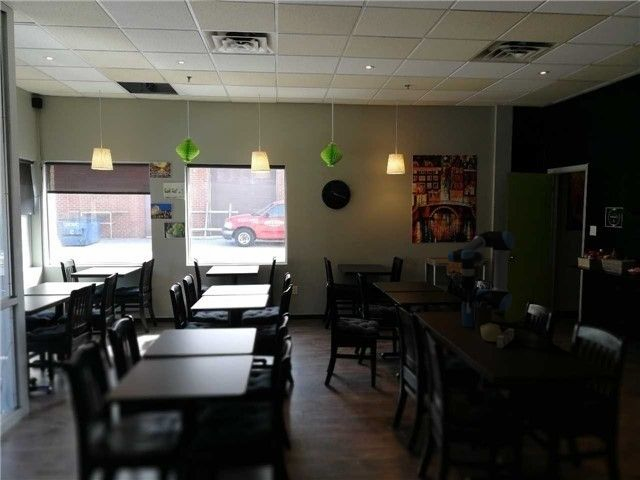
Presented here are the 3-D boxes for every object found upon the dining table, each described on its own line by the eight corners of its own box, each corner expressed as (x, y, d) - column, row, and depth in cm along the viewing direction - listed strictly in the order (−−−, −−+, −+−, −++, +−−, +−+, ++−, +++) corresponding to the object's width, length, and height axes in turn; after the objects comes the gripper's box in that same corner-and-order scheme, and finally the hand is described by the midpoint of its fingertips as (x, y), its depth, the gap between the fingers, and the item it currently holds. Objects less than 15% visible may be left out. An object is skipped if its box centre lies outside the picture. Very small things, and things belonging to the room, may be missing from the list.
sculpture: (496, 338, 284) (496, 320, 283) (504, 343, 272) (504, 325, 271) (478, 338, 284) (478, 321, 283) (485, 343, 272) (485, 325, 271)
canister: (489, 330, 302) (489, 300, 301) (493, 334, 292) (494, 303, 291) (472, 330, 303) (472, 300, 302) (476, 334, 293) (476, 303, 292)
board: (508, 338, 283) (508, 327, 283) (513, 338, 281) (513, 328, 281) (496, 347, 264) (496, 336, 264) (502, 348, 262) (502, 337, 262)
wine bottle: (484, 328, 308) (484, 283, 307) (464, 328, 309) (464, 284, 307) (478, 323, 322) (478, 281, 320) (459, 323, 322) (459, 281, 321)
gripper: (455, 275, 285) (456, 312, 287) (476, 276, 277) (476, 315, 279) (460, 273, 291) (460, 310, 293) (480, 274, 283) (481, 312, 285)
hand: (468, 312), depth 286 cm, fingers closed
